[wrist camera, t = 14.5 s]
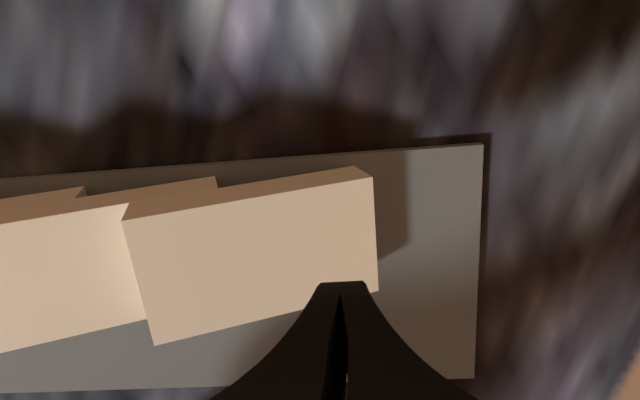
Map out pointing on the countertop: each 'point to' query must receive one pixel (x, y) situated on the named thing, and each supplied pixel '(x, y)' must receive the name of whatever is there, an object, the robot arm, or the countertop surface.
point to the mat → (261, 336)
